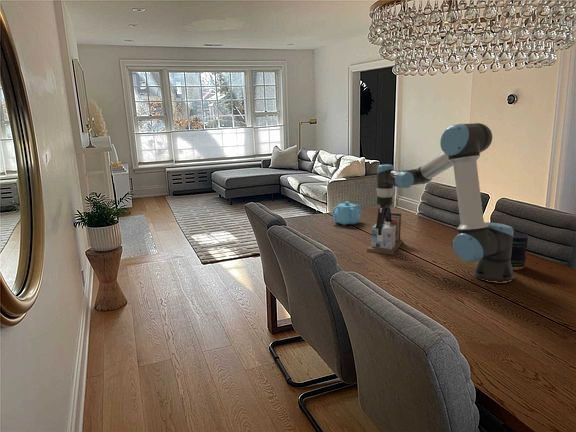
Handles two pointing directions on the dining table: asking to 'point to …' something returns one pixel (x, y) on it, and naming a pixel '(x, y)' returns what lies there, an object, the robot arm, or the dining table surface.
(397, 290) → the dining table surface
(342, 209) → the decorative pot
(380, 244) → the light bulb box
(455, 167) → the robot arm
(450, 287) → the dining table surface
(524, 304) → the dining table surface
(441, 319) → the dining table surface
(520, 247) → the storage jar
